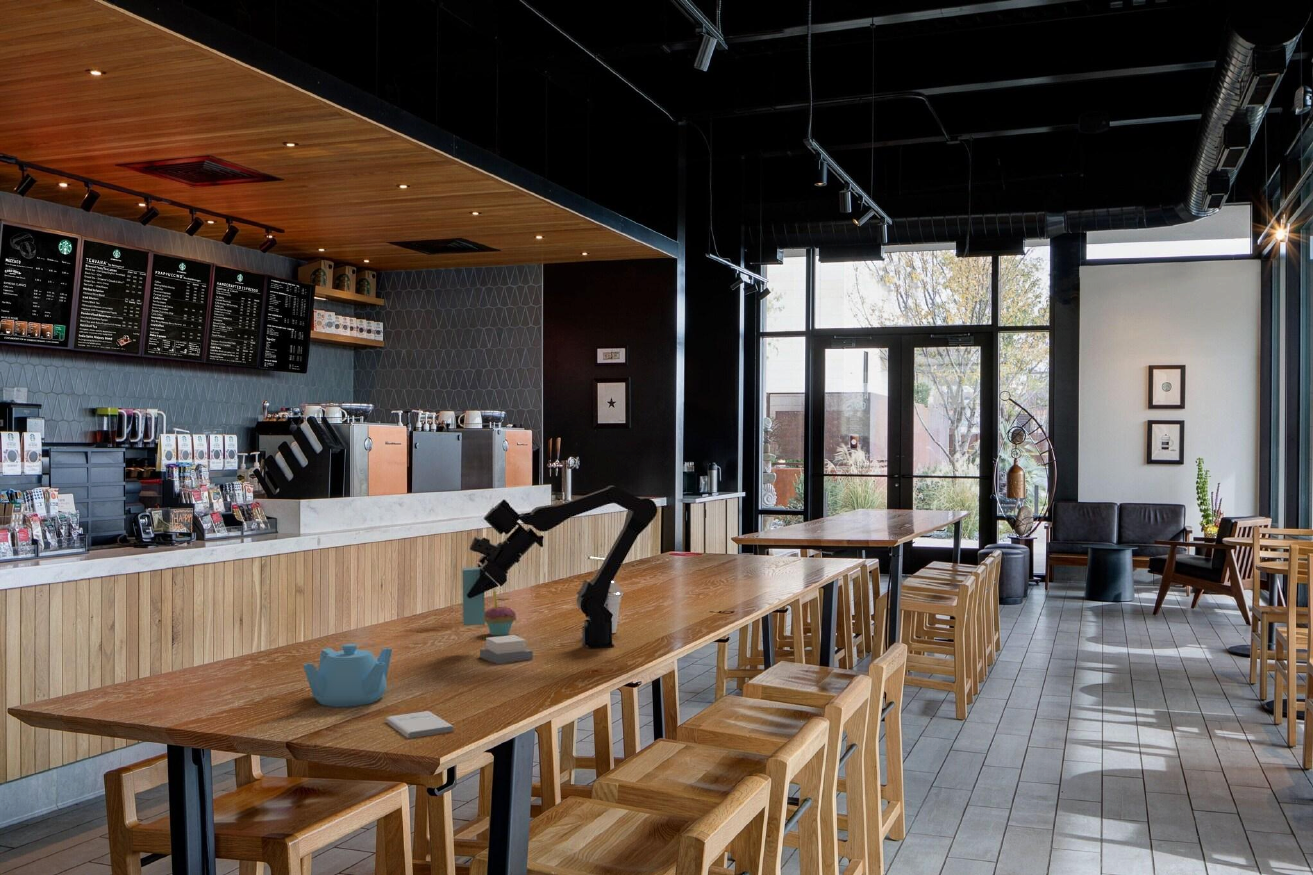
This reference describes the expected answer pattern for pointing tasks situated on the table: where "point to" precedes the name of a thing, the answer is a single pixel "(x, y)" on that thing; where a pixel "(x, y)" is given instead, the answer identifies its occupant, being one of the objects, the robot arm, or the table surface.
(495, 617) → the cupcake
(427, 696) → the table surface
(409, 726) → the external hard drive
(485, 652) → the tower base slab
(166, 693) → the table surface
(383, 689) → the teapot
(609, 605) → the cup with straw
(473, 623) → the teal pillar
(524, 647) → the tower top slab
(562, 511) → the robot arm
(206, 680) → the table surface
